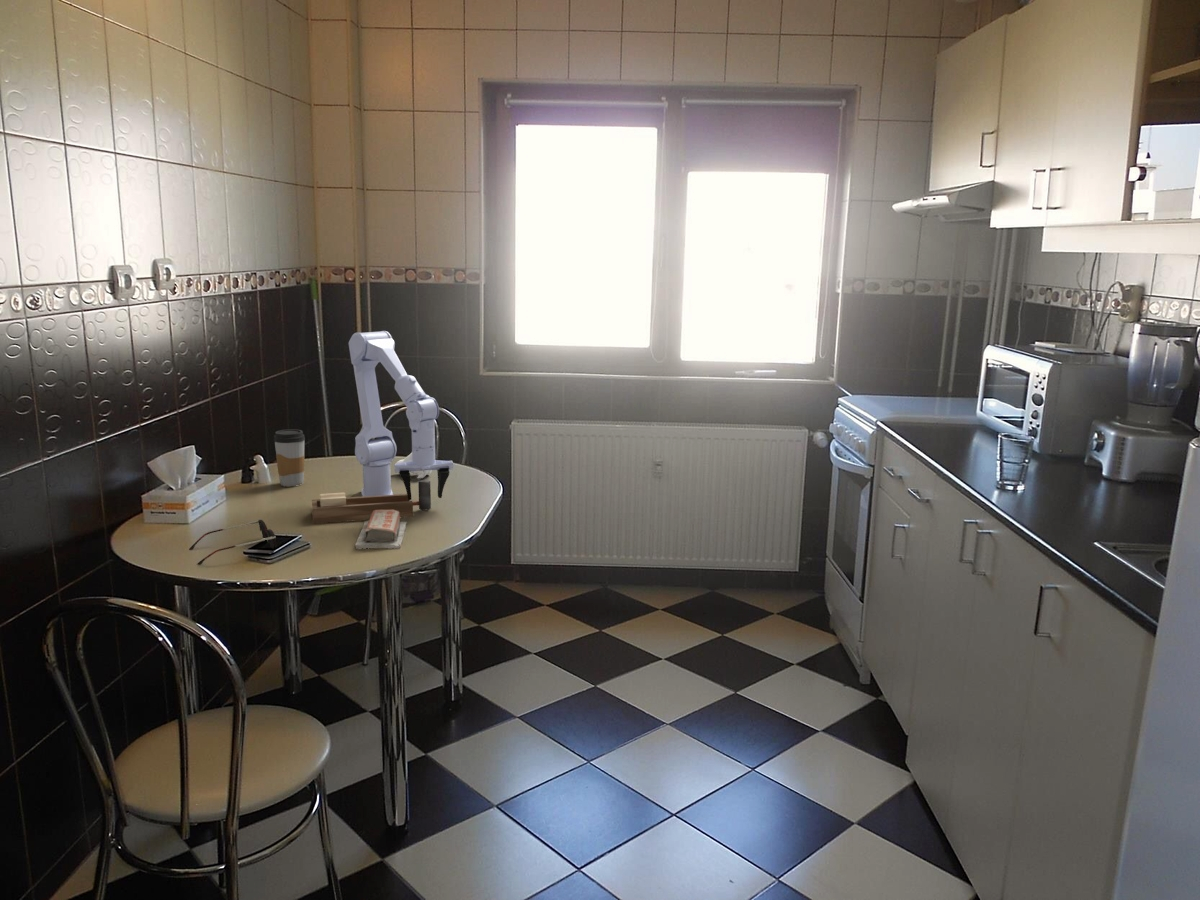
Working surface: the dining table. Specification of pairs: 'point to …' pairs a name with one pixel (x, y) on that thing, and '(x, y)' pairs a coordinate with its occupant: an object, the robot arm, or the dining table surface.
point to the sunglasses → (266, 534)
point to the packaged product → (382, 530)
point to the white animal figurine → (422, 475)
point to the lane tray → (361, 508)
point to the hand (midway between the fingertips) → (424, 497)
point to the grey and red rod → (423, 502)
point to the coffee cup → (290, 456)
